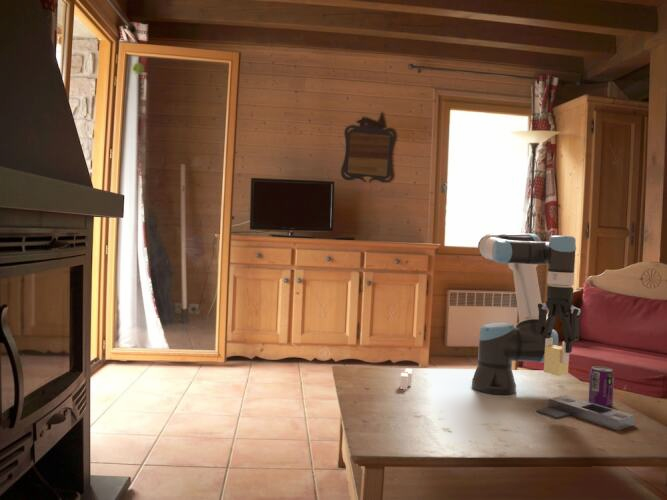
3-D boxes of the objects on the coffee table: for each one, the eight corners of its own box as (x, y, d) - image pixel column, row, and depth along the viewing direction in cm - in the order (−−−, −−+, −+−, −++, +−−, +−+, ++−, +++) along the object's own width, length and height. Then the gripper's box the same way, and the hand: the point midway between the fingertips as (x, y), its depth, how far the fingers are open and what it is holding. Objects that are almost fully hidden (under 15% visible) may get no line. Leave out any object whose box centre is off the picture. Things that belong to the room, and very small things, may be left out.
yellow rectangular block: (543, 371, 162) (544, 346, 162) (553, 370, 165) (554, 344, 165) (558, 375, 158) (559, 349, 158) (568, 373, 161) (569, 348, 161)
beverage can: (615, 409, 169) (617, 372, 168) (591, 406, 170) (593, 370, 170) (608, 402, 176) (610, 367, 175) (585, 400, 177) (587, 365, 177)
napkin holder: (406, 380, 196) (407, 365, 195) (430, 387, 187) (431, 371, 187) (378, 386, 186) (379, 370, 186) (402, 394, 177) (402, 378, 177)
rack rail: (548, 408, 167) (549, 398, 167) (565, 404, 172) (565, 394, 172) (617, 430, 149) (618, 419, 149) (634, 425, 154) (634, 414, 154)
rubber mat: (536, 411, 163) (536, 410, 163) (550, 408, 167) (550, 406, 167) (557, 418, 157) (557, 416, 157) (570, 415, 161) (570, 413, 161)
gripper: (527, 283, 166) (523, 355, 167) (581, 289, 151) (577, 368, 152) (541, 282, 170) (538, 353, 171) (595, 288, 155) (591, 366, 156)
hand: (556, 360), depth 161 cm, fingers closed on yellow rectangular block, 5 cm apart
